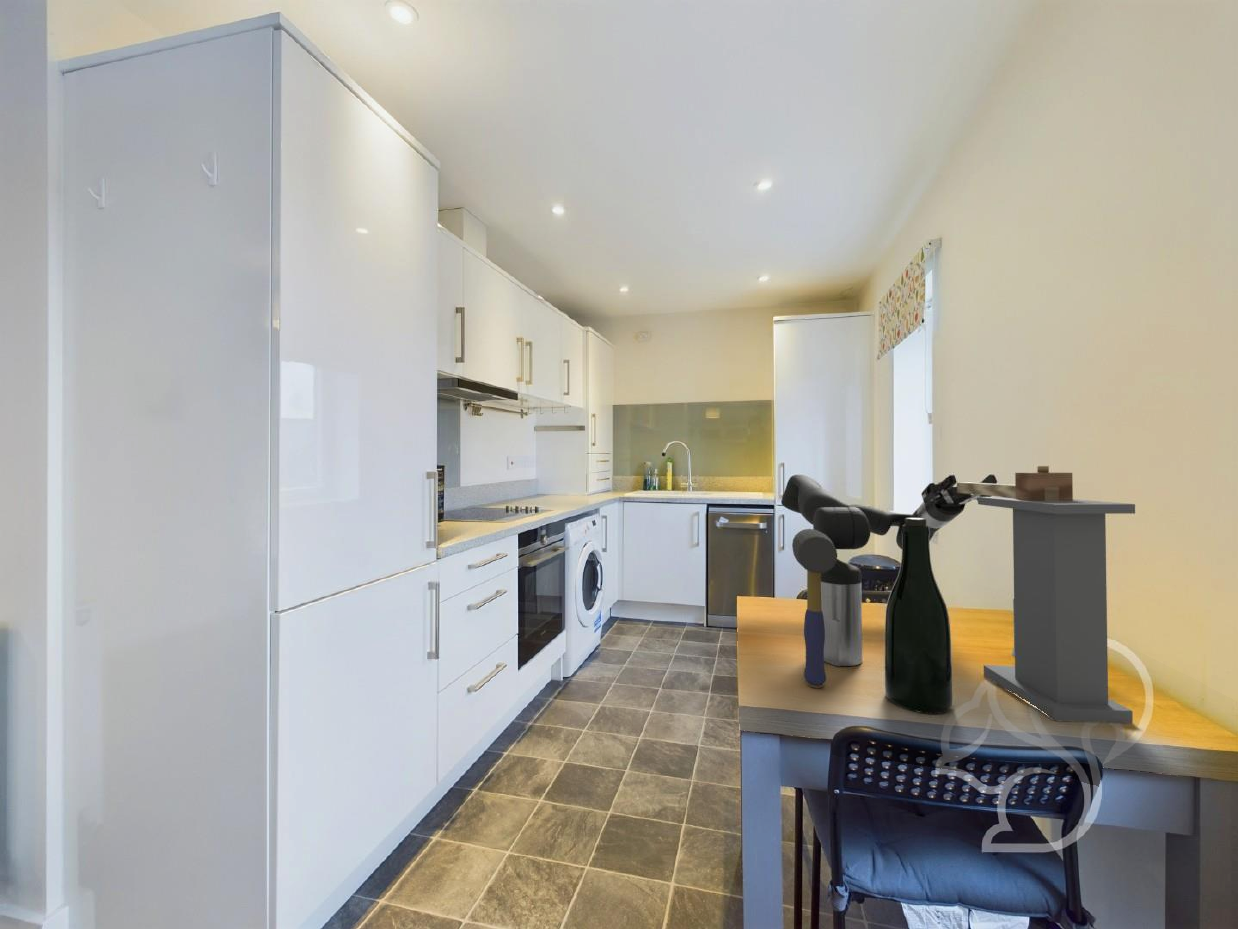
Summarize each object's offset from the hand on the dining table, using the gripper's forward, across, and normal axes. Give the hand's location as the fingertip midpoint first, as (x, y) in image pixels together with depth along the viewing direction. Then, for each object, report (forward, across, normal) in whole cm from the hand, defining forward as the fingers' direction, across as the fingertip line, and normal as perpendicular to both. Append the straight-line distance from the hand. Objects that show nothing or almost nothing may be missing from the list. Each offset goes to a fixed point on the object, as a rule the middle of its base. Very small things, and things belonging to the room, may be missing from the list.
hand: (973, 478), depth 112 cm
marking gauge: (+6, 0, -8) cm, 10 cm away
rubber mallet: (-3, +41, -44) cm, 60 cm away
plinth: (-1, 0, -45) cm, 45 cm away
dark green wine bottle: (+2, +25, -47) cm, 53 cm away
